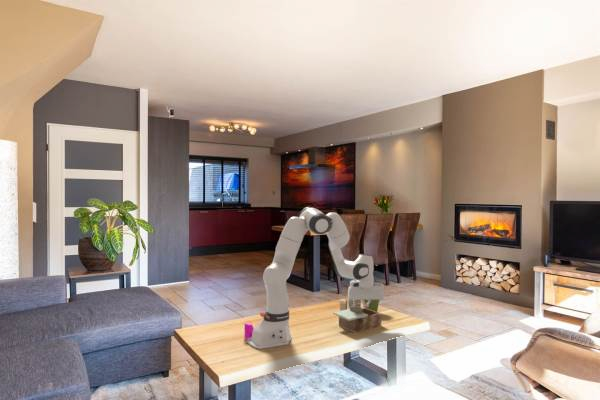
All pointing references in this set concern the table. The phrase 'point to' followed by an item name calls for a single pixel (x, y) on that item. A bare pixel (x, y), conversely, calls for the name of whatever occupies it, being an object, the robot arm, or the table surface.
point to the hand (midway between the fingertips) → (365, 307)
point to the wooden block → (343, 304)
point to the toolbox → (362, 321)
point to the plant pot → (372, 304)
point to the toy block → (249, 330)
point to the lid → (351, 313)
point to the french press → (350, 303)
